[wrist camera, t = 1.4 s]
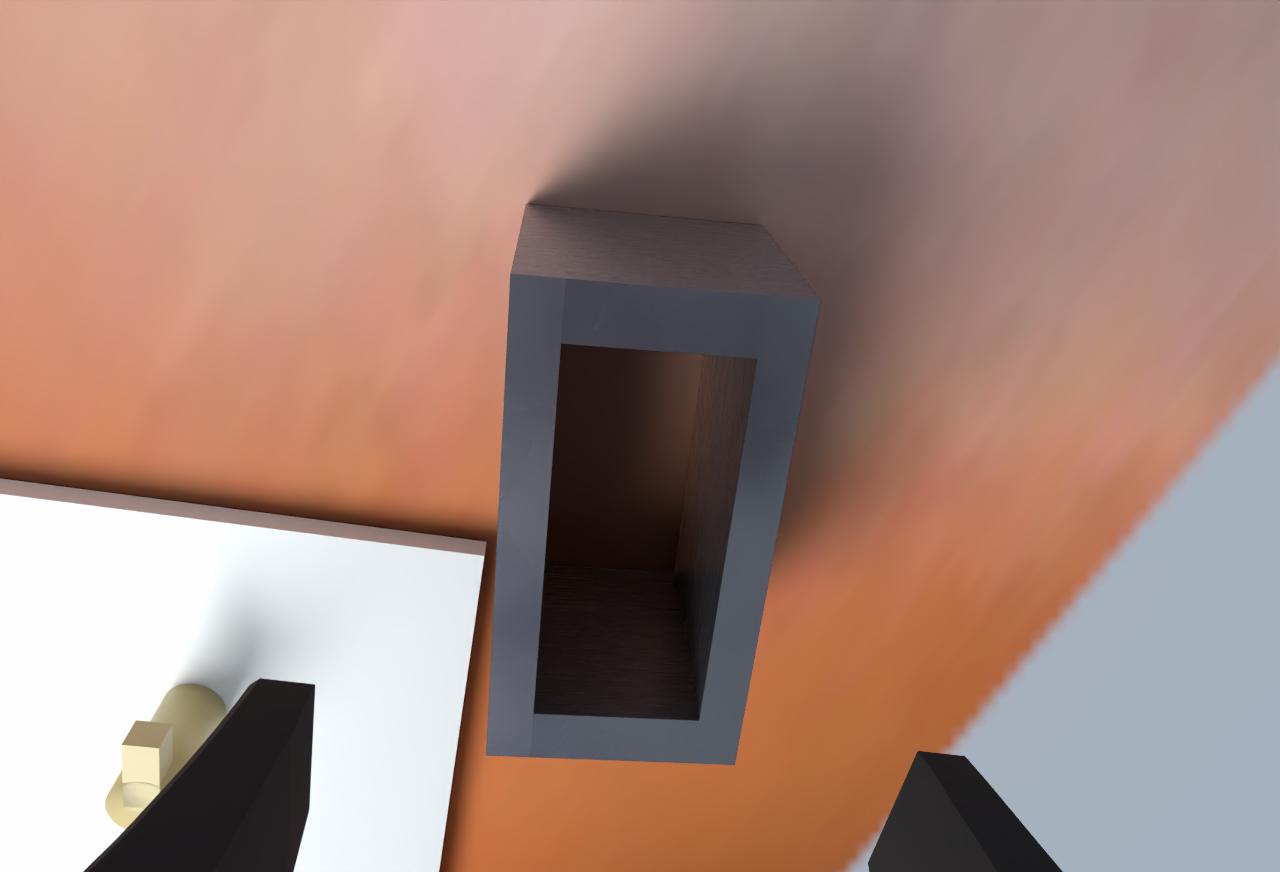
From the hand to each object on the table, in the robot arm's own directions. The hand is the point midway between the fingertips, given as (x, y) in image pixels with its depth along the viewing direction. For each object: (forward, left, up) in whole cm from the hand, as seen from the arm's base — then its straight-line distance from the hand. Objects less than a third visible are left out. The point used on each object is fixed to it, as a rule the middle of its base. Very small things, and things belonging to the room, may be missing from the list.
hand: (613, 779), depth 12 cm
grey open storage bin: (0, 0, -10) cm, 10 cm away
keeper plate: (-9, +8, -10) cm, 16 cm away
